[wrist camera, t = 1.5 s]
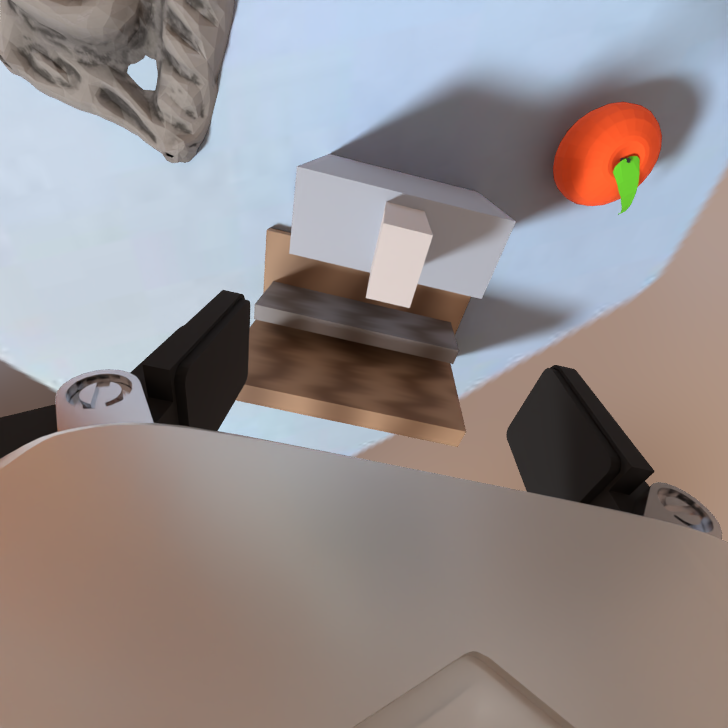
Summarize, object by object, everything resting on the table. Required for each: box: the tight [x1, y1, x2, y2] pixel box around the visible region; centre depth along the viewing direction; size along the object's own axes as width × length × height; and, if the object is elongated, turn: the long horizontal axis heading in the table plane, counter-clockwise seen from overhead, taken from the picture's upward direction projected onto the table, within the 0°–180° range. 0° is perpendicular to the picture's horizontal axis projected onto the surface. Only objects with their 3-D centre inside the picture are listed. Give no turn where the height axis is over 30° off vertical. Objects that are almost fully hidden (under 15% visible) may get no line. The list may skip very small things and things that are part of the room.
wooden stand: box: [236, 228, 471, 447], centre depth 33 cm, size 22×11×14 cm, turn 78°
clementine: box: [553, 102, 662, 215], centre depth 27 cm, size 8×7×7 cm
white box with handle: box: [289, 154, 516, 308], centre depth 26 cm, size 14×5×18 cm, turn 78°
